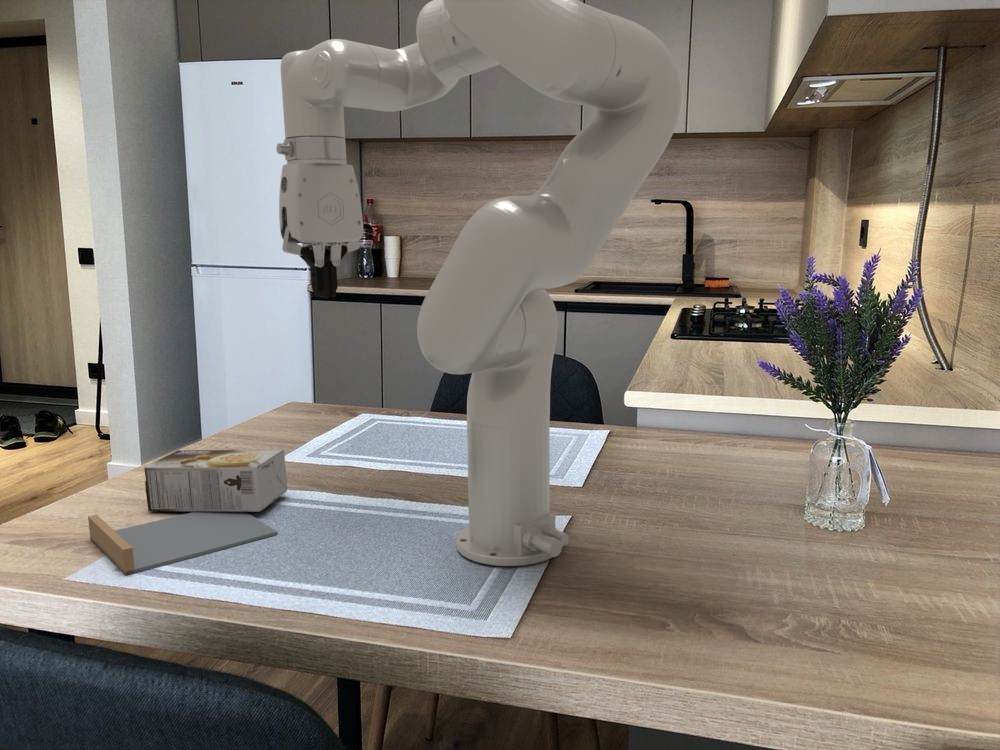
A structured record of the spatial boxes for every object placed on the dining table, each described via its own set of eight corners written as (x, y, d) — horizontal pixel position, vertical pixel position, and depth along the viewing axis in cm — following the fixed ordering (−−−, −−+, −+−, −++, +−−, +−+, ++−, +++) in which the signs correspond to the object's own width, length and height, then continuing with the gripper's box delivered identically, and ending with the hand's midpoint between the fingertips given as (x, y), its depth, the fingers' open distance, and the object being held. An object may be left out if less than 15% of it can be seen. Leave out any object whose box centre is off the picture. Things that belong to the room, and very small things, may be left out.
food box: (288, 492, 118) (183, 492, 121) (285, 448, 117) (179, 448, 120) (259, 513, 109) (147, 512, 112) (255, 465, 108) (142, 465, 111)
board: (277, 534, 104) (276, 511, 103) (125, 575, 93) (122, 549, 92) (232, 505, 114) (230, 484, 114) (90, 539, 103) (87, 516, 103)
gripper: (275, 149, 100) (286, 303, 103) (381, 153, 110) (388, 294, 113) (248, 154, 106) (259, 299, 109) (352, 158, 115) (359, 291, 119)
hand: (325, 296), depth 111 cm, fingers closed
